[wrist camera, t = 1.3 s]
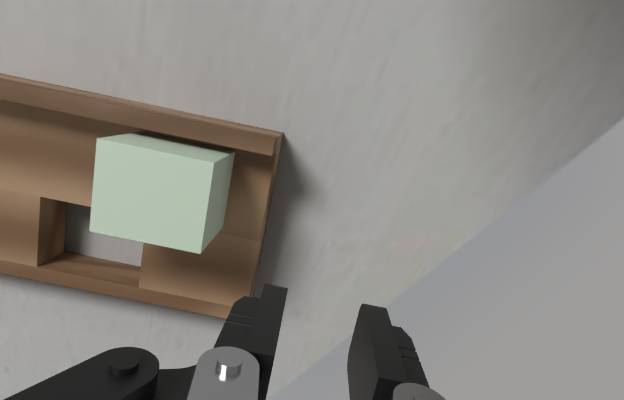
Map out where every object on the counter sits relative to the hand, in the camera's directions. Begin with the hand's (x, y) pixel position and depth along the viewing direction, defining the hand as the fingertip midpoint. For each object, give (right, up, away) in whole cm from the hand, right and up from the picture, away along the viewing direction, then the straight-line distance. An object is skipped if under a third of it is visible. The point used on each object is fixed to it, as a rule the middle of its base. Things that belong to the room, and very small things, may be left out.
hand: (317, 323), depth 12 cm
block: (-8, +5, +14) cm, 17 cm away
